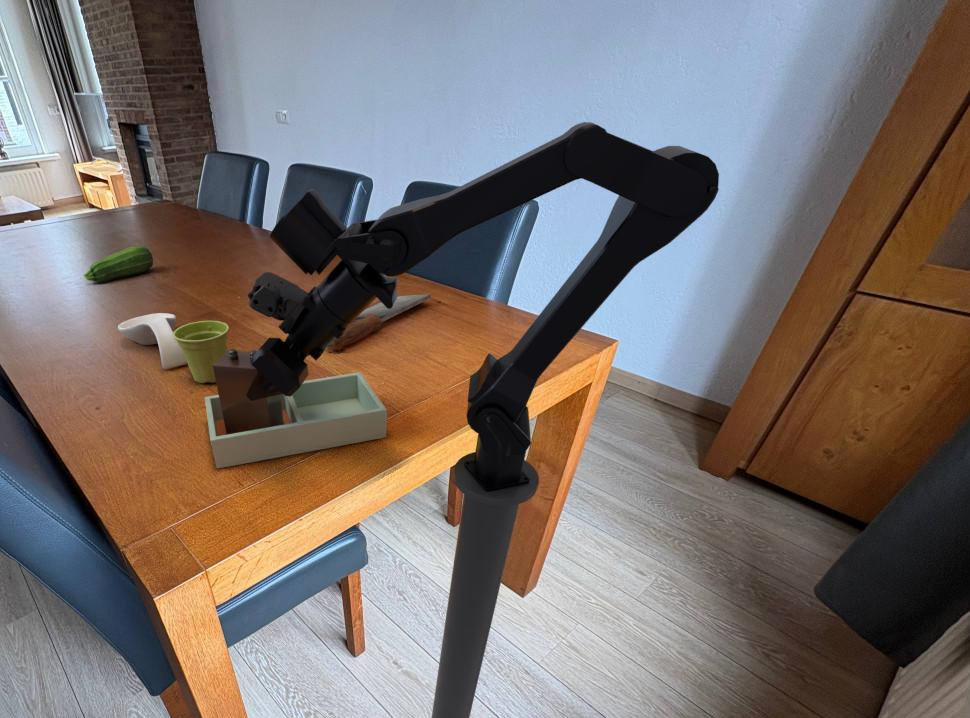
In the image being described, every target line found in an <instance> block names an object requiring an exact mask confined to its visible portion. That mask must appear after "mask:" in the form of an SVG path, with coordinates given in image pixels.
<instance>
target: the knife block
mask: <svg viewBox="0 0 970 718" xmlns="http://www.w3.org/2000/svg"><path fill="white" fill-rule="evenodd" d="M257 351H258V350H255V349H253V350H251V351H247V350H245V351H244V350H237V349H235V348H231V349H228V350H227V352H226V353H225V354H224V355H223V356H222V357H221V358H220V359H219V360H218V361H217V362H216V363H215V364H214V365H213V370H214V374H215V379H216V382H215V384H216V389H217V393H218V394H217V395H219V399H220V404H221V409H222V414H223V419H224V424H225V428H226V433H227V435H228V434H234V433H239V432H245V431H251V430H257V429H262V428H268V427H274V426H280V425H284V420H283V412H282V404H281V396H280V395H274V396H270V397H266V398H262V399H258V400H254V401H251V400H250V399H249V398H247V397H246V394H247V392H248V390H249V388H250V386H251V384H252V382H253V380H254V378H255V376H256V374H257V369H256V368H255V367H254V366H252V364H251V361H250V358H251V357H252V356H253V355H254V354H255V353H256V352H257Z"/></svg>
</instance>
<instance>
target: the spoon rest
mask: <svg viewBox="0 0 970 718" xmlns="http://www.w3.org/2000/svg"><path fill="white" fill-rule="evenodd" d="M176 324H177V316H176V315H175V314H172V313H166V312H157V313H149V314H145V315H139V316H136V317H132V318H130V319H127V320H124V321H123V322H120V323H119V324H118V326H117V329H118V331H119V333H121V334H122V336H123V337H125V338H127V339H129V340H131V341H133V342H136V343H137V344H139V345H143V346H151V345H156V344H157V345H158V350H159V355H160V361H161V362H160V363H161V366H162V369H163V370H169V369H173V368H176V367H181V366H184V365H186V364H188V363H187V360H186V358H185V355H184V353H183V350H182V348H181V347H180V346H179V344H178V342H177V340H176V339H174V337H173V332H174V330H175V327H176Z"/></svg>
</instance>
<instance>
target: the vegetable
mask: <svg viewBox="0 0 970 718" xmlns="http://www.w3.org/2000/svg"><path fill="white" fill-rule="evenodd" d="M153 265H154V258H153V254H152V252H151V251H150V250H149V248H147V247H145V246H143V245H132V246H128V247H127V248H124V249H122V250H120V251H117V252H115V253H113V254H112V253H111V255H108V256H106V257H104V258H102V259H99V260H98V261H95V262H94V263H92V264H91V265H90V267H89V270H88V271H86V273H85V274H83V277H84V278H85V280H87V281H88V282H95V283H98V284H103V283H107V282H110V281H112V280H115V279H120V278H123V277H124V278H125V277H130V276H137V275H140V274H143V273H146V272H147V271H149V270H151V268H152V267H153Z"/></svg>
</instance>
